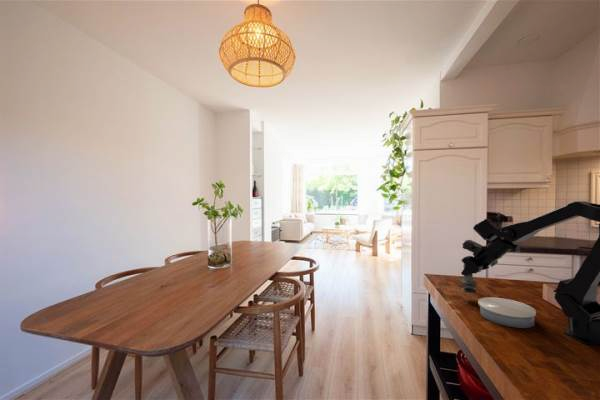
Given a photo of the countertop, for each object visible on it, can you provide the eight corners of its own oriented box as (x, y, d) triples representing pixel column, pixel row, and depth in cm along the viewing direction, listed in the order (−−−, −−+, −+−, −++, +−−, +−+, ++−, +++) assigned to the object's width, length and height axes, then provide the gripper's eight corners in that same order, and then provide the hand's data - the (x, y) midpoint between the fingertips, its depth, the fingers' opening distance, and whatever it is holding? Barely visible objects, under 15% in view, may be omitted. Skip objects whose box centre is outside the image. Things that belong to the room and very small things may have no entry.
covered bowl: (550, 329, 73) (549, 316, 73) (495, 327, 76) (495, 314, 76) (514, 308, 88) (514, 297, 88) (470, 307, 90) (469, 296, 90)
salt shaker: (461, 291, 96) (459, 262, 96) (459, 287, 101) (457, 258, 102) (479, 293, 93) (477, 263, 94) (476, 289, 98) (474, 259, 99)
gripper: (486, 231, 100) (459, 254, 109) (465, 236, 90) (437, 260, 98) (511, 253, 93) (480, 275, 102) (492, 260, 83) (459, 284, 92)
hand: (464, 273), depth 99 cm, fingers closed on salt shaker, 4 cm apart
